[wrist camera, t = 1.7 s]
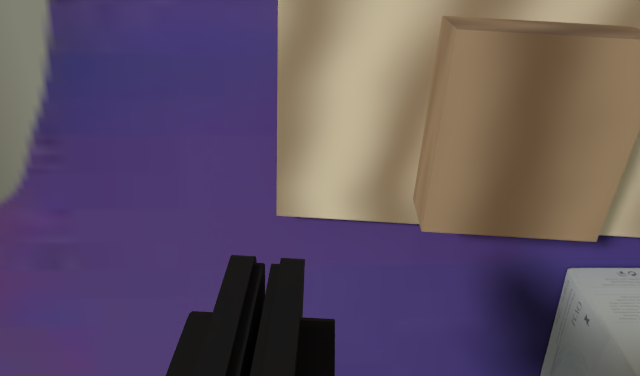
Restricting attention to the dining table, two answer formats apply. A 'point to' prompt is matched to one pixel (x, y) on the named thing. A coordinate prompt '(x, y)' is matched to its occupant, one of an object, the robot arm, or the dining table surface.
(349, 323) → the dining table surface
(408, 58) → the board
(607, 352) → the skincare box
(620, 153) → the tan square slab
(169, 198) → the dining table surface
